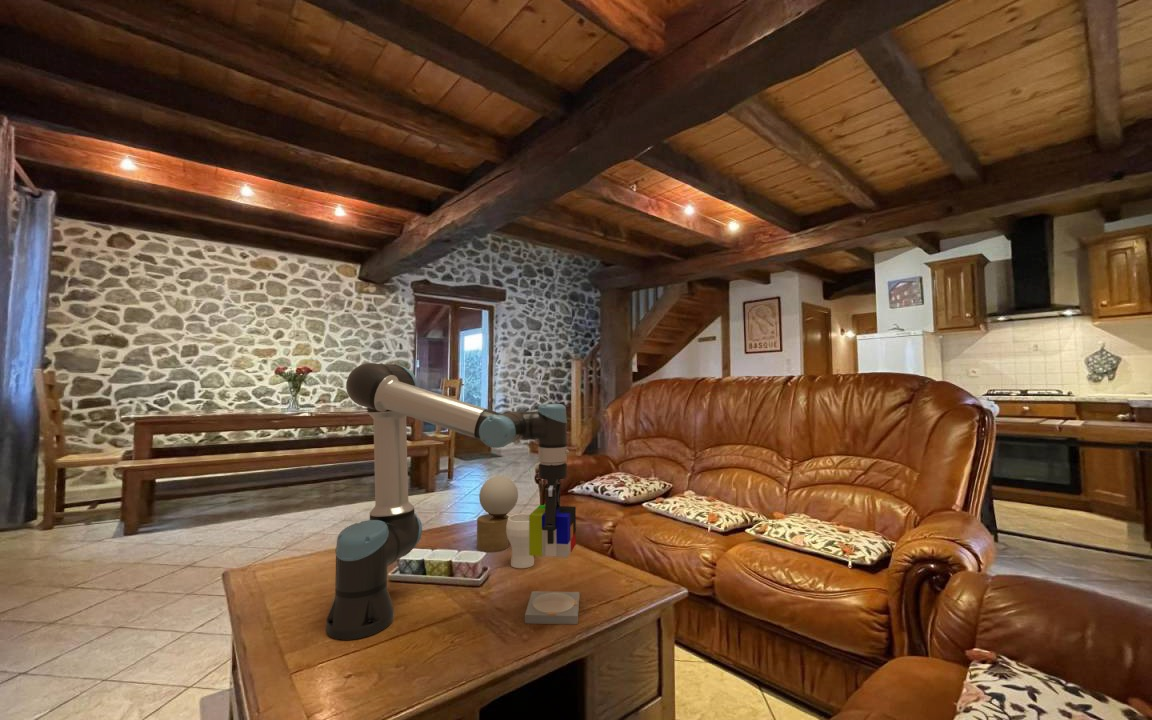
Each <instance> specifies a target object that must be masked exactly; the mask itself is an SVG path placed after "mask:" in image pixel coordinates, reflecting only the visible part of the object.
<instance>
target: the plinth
mask: <svg viewBox="0 0 1152 720" xmlns="http://www.w3.org/2000/svg"><path fill="white" fill-rule="evenodd" d="M579 610H580V591H538V590H537V591H533V590H532V591H531V594H530V596H529V599H528V604H527V607H526V610H525V613H524V624H534V625H537V624H538V625H539V624H540V625H541V624H542V625H543V624H544V625H545V624H547V625H548V624H549V625H553V624H554V625H578V623H579Z"/></svg>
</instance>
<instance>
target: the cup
mask: <svg viewBox="0 0 1152 720" xmlns="http://www.w3.org/2000/svg"><path fill="white" fill-rule="evenodd" d="M530 514H531V513H517V514H512V515H509V516H508V521H507V525H506V532H507V537H508V543H509V545H510V546H511V557H510V567H513V568H515V569H526V568H531V567H532V566H534V565H535V558H534V556H532V555H529V515H530Z"/></svg>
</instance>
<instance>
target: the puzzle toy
mask: <svg viewBox="0 0 1152 720" xmlns="http://www.w3.org/2000/svg"><path fill="white" fill-rule="evenodd" d="M576 507H577V506H571V505H570V506H565V505H560V506H556V546H557V556H545V530H542V527H544V526H545V504H539V506H537V507H536V508H535V509H534V510H533V511H532V512H531V513H529V514H530V515H529V555H532V556H533V557H534V556H535V557H545V558H546V557H549V558H562V559H569V557H570V555H571V554H572V551H573V550H574V548H575V547H576V545H577V536H576V534H577V532H576V531H577V527H576V526H577V522H576V519H577V517H576V516H577V514H576V512H577V511H576V510H577V509H576ZM548 525H552V524H548Z"/></svg>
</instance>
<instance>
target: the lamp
mask: <svg viewBox="0 0 1152 720" xmlns="http://www.w3.org/2000/svg"><path fill="white" fill-rule="evenodd" d="M478 498H479V503H480V506H481V508H482V509H483V510H484V512H486V513H487V514H482V515H479V516H478V517H477V518H476V549H477V551H479V552H482V551H484V552H483V553H497V552H501V551H504V550H506V549H507V548H508V547H509V540H508V537H507V532H506V525H507V521H508V518H509V516H508V514H509V513H510V512H511V511H512V510H513V509H515V507H516V504H517V503H518V500H519V491H518V488H517V485H516V483H515V482H514V481H513V480H511V479H510V477H509V478H508V477H506V476H502V475H497V476H492V477H490V478H489V479H487V480H485V482H484V483H483V484H482V487H481V488H480V490H479V495H478Z"/></svg>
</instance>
